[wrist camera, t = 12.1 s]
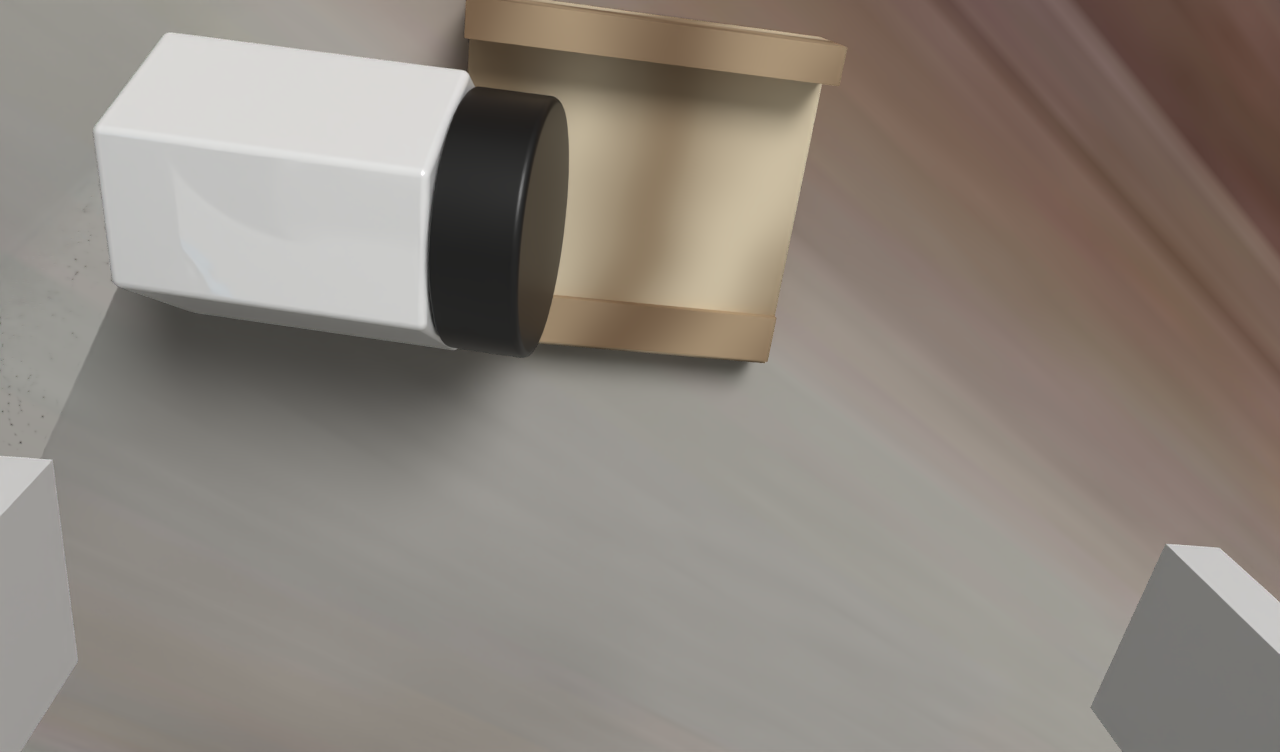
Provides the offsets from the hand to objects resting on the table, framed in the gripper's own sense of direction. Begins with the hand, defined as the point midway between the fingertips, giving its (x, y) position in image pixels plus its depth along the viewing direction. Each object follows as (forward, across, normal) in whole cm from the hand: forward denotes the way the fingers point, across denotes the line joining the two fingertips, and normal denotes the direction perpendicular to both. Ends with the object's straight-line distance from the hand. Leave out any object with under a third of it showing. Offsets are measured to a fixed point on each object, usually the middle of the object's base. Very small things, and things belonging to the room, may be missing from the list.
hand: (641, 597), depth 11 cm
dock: (+25, +2, -1) cm, 25 cm away
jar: (+22, -13, -2) cm, 25 cm away
